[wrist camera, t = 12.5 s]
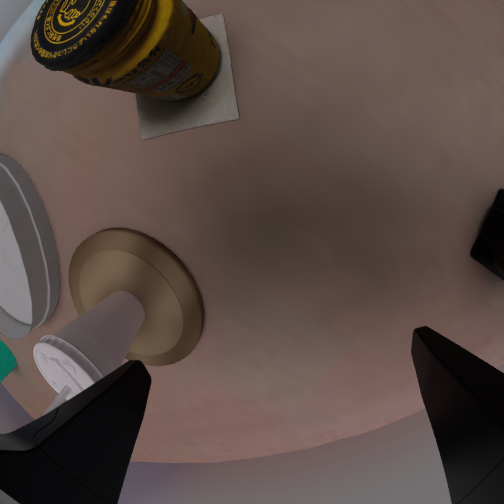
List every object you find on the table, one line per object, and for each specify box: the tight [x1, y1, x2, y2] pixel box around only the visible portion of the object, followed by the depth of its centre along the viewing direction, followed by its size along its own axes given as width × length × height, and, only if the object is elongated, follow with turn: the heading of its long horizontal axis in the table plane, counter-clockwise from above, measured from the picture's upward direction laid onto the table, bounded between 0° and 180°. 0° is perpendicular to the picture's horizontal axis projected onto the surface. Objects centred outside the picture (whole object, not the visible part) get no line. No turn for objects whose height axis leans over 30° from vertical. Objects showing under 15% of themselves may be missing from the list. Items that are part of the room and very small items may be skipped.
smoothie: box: [33, 291, 145, 416], centre depth 17 cm, size 6×6×14 cm
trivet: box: [69, 228, 204, 366], centre depth 24 cm, size 14×14×1 cm
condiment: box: [31, 0, 239, 140], centre depth 11 cm, size 7×8×12 cm
